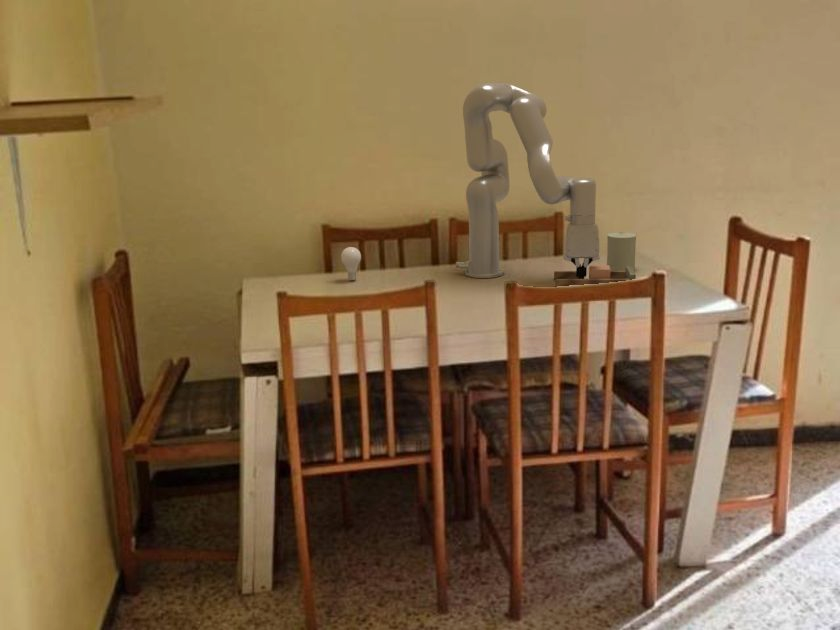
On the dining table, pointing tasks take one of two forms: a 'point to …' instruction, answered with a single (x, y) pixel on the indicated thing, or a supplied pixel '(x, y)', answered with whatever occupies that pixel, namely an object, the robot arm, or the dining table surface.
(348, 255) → the lightbulb
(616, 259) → the can
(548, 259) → the dining table surface
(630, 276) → the channel
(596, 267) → the block
